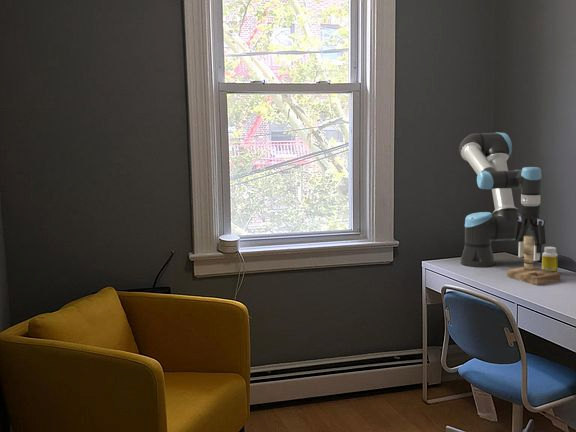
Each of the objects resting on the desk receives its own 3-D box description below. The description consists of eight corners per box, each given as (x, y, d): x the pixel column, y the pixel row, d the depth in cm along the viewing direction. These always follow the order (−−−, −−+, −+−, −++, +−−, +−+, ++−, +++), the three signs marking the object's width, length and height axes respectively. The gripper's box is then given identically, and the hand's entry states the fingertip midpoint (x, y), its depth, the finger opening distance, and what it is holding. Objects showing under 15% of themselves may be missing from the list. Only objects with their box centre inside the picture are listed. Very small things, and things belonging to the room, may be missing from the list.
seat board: (506, 276, 260) (507, 269, 260) (529, 272, 266) (530, 266, 265) (536, 285, 246) (536, 278, 246) (560, 280, 251) (560, 273, 251)
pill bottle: (558, 274, 261) (559, 249, 259) (543, 274, 262) (544, 249, 261) (555, 271, 267) (556, 246, 265) (540, 271, 268) (541, 246, 267)
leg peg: (520, 269, 261) (521, 236, 259) (528, 267, 263) (529, 235, 260) (528, 271, 257) (529, 238, 255) (536, 269, 259) (537, 236, 256)
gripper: (505, 202, 263) (504, 255, 267) (543, 208, 245) (541, 264, 248) (518, 201, 266) (517, 253, 270) (557, 206, 248) (555, 262, 251)
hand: (528, 258), depth 259 cm, fingers open, 8 cm apart
